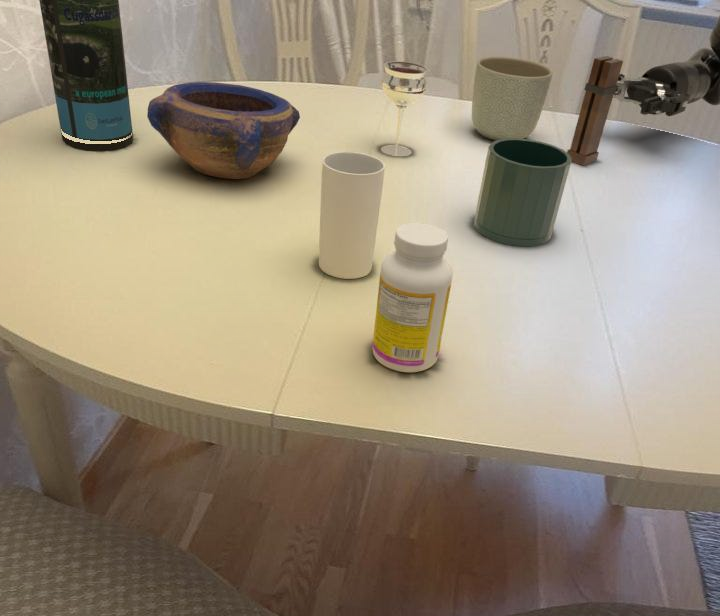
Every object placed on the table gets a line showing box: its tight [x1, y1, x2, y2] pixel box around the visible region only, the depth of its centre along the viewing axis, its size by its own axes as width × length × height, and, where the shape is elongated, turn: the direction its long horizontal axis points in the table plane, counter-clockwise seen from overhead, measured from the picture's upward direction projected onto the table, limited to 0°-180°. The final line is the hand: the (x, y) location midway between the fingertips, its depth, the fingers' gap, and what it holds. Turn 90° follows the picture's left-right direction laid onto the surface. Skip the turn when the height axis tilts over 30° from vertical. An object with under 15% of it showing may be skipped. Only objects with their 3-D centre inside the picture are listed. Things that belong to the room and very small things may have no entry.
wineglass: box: [380, 60, 429, 157], centre depth 116 cm, size 7×7×12 cm
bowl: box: [146, 81, 301, 180], centre depth 105 cm, size 18×18×10 cm
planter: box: [471, 55, 553, 141], centre depth 127 cm, size 12×12×11 cm
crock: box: [473, 138, 572, 247], centre depth 98 cm, size 10×10×10 cm
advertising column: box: [38, 0, 134, 153], centre depth 102 cm, size 11×11×30 cm
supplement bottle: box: [372, 222, 453, 373], centre depth 71 cm, size 7×7×13 cm
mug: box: [318, 151, 386, 280], centre depth 86 cm, size 10×7×12 cm, turn 157°
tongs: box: [566, 55, 624, 167], centre depth 120 cm, size 4×4×15 cm
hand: (621, 100), depth 124 cm, fingers open, 8 cm apart
